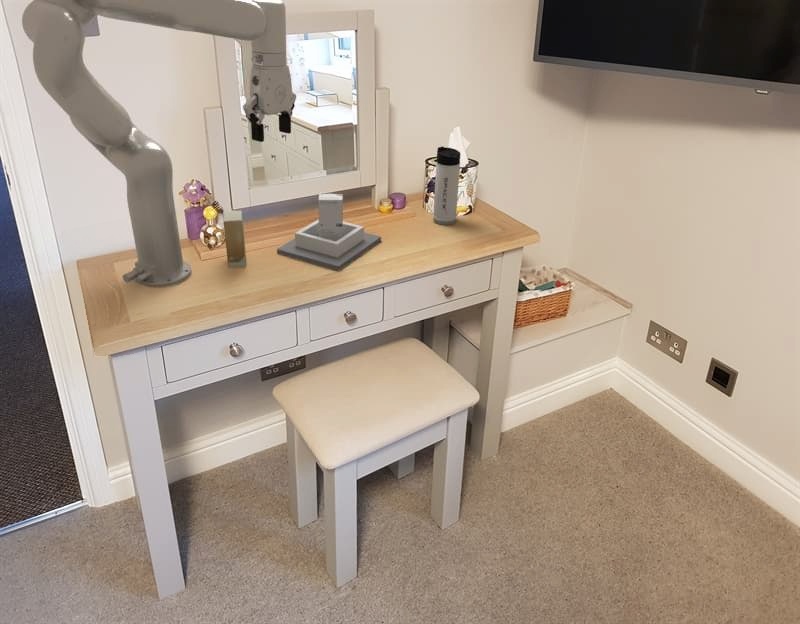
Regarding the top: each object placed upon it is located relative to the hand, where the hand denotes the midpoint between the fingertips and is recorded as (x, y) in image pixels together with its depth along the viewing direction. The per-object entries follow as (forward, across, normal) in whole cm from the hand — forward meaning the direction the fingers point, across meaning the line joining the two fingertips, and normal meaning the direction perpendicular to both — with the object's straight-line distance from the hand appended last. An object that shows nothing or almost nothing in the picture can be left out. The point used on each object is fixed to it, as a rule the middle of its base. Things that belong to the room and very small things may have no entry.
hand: (271, 136), depth 161 cm
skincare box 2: (+26, +7, -12) cm, 30 cm away
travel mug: (+26, +38, -28) cm, 54 cm away
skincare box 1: (+28, -13, +1) cm, 31 cm away
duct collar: (+27, +7, -12) cm, 30 cm away
